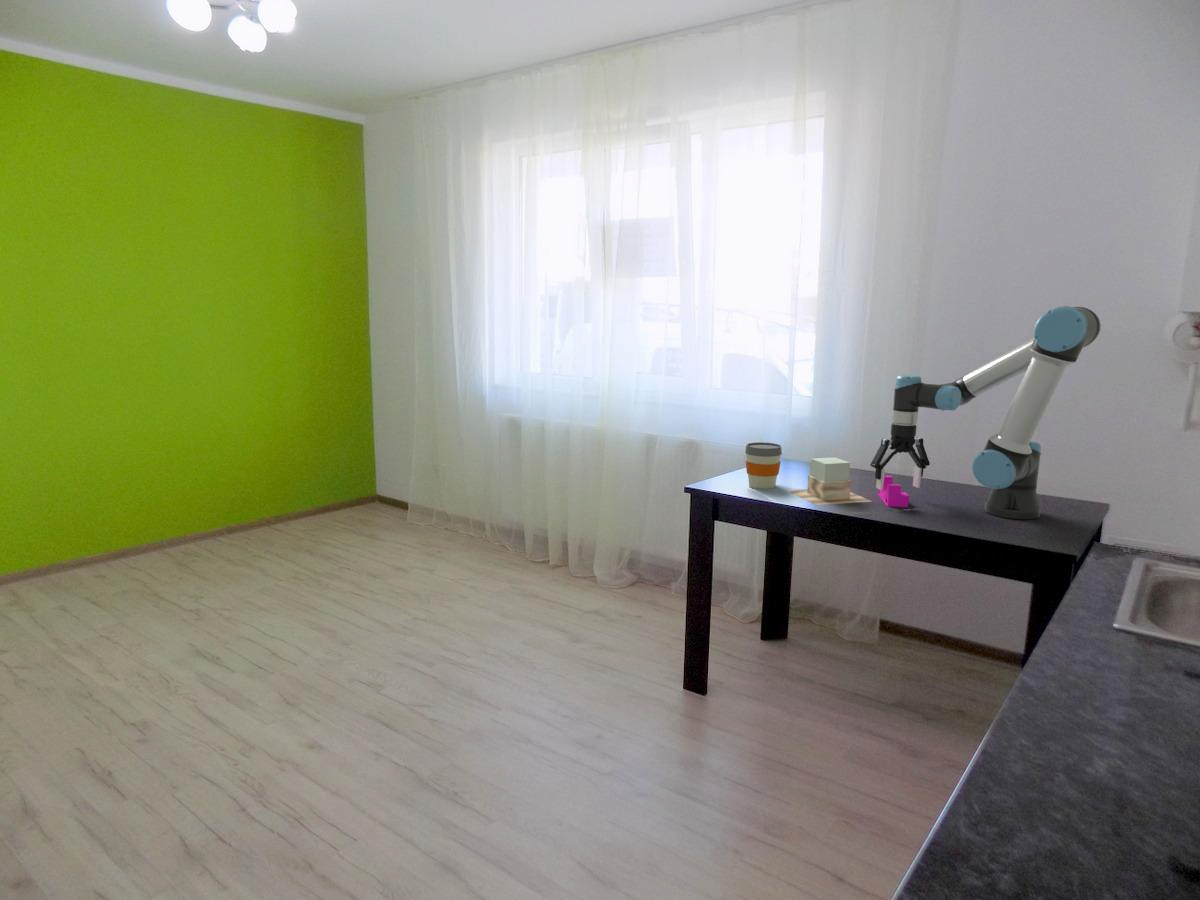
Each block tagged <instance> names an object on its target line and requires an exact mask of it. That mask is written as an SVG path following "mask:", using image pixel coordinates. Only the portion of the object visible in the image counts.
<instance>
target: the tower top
mask: <svg viewBox="0 0 1200 900" xmlns="http://www.w3.org/2000/svg"><path fill="white" fill-rule="evenodd" d="M850 466H851V462H849V461H847V460H844V459H841V458H838V457H822V458H821V457H818V458H815V457H814V458H811V459H810V474H809V476H811V477H814V478H816V479H818V480H821V481H823V482H832V481H849V480H850V470H851V467H850Z"/></svg>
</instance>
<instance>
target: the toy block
mask: <svg viewBox="0 0 1200 900" xmlns="http://www.w3.org/2000/svg"><path fill="white" fill-rule="evenodd" d="M877 491H878V492H877V493H878V494H877V495H878V497H879V498H880V499H881V501H883V503H885V505H886V507H898V508H899V507H900V508H909V500H910V494H908V493H907V492H903V491H902V485H901V484H899V483H893V476H892V475H884V484H883V490H880V489H878V490H877Z"/></svg>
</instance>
